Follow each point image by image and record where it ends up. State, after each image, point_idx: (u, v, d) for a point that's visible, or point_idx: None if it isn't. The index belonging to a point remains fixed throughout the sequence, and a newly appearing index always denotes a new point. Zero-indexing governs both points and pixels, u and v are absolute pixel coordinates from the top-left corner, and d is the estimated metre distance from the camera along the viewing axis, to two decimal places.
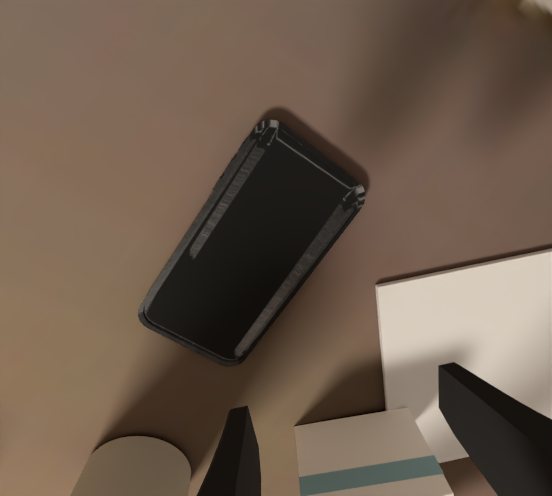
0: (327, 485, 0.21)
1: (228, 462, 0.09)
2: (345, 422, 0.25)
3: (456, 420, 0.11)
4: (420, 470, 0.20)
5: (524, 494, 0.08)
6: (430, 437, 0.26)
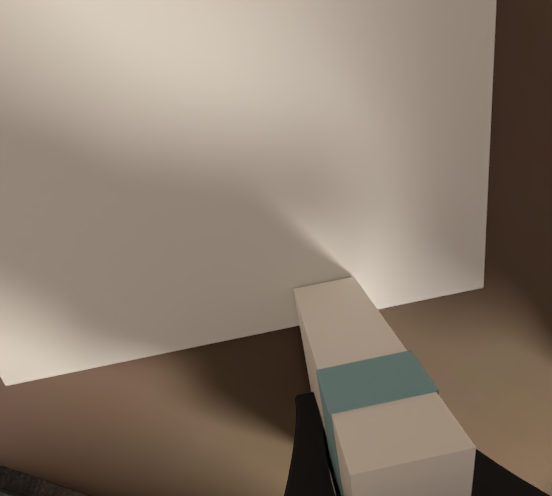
0: None
1: (312, 444, 0.09)
2: None
3: None
4: (332, 436, 0.07)
5: None
6: (395, 217, 0.11)
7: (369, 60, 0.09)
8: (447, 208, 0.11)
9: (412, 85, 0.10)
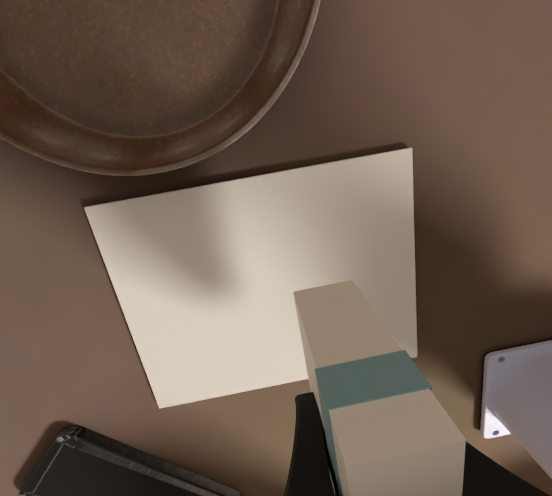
0: None
1: (312, 444, 0.09)
2: None
3: None
4: (330, 433, 0.08)
5: None
6: None
7: (353, 256, 0.19)
8: (395, 319, 0.21)
9: (375, 266, 0.20)
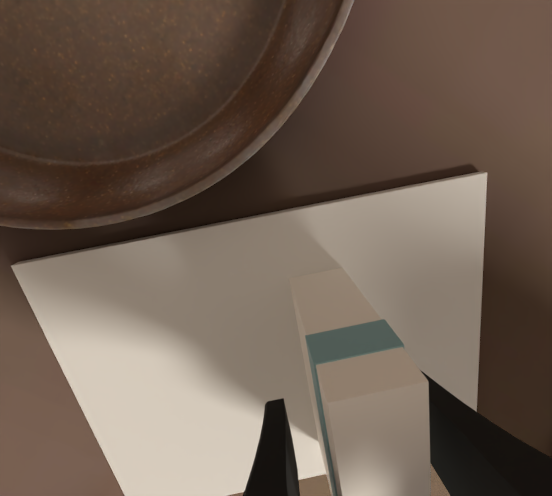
0: None
1: (274, 452, 0.09)
2: (308, 384, 0.14)
3: None
4: None
5: None
6: None
7: (397, 321, 0.14)
8: None
9: (426, 332, 0.14)
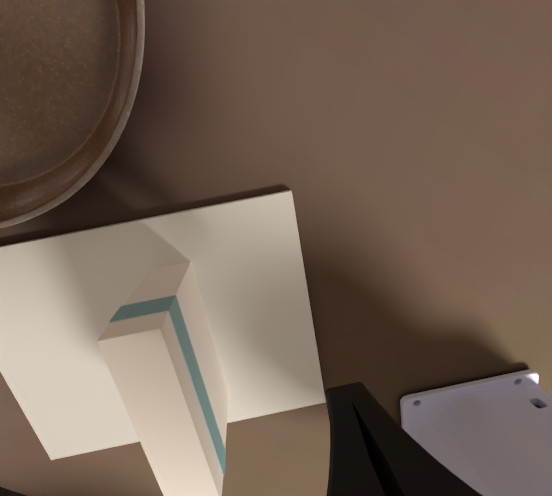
0: None
1: (350, 436, 0.09)
2: None
3: None
4: None
5: None
6: (267, 370, 0.20)
7: (242, 303, 0.18)
8: (296, 365, 0.20)
9: (267, 312, 0.18)
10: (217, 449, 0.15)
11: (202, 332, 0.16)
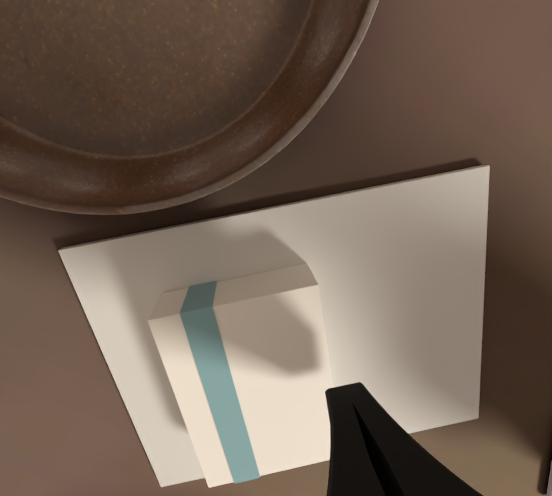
0: None
1: (350, 436, 0.09)
2: None
3: None
4: None
5: None
6: (421, 382, 0.17)
7: (407, 303, 0.15)
8: (454, 375, 0.17)
9: (433, 314, 0.15)
10: (236, 461, 0.14)
11: (287, 366, 0.13)
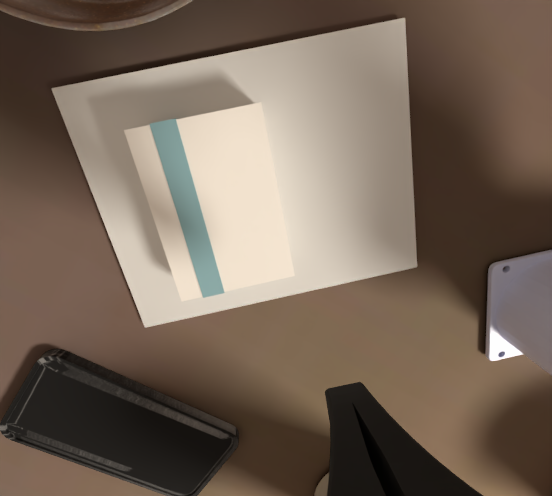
0: None
1: (350, 436, 0.09)
2: None
3: None
4: None
5: None
6: (364, 228, 0.20)
7: (346, 148, 0.18)
8: (392, 222, 0.20)
9: (369, 160, 0.18)
10: (203, 275, 0.17)
11: (241, 181, 0.16)
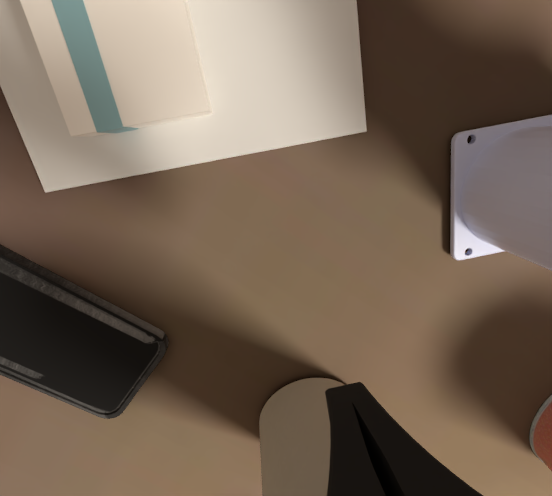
0: None
1: (350, 436, 0.09)
2: None
3: None
4: None
5: None
6: (301, 74, 0.17)
7: None
8: (335, 68, 0.17)
9: None
10: (95, 101, 0.14)
11: None
